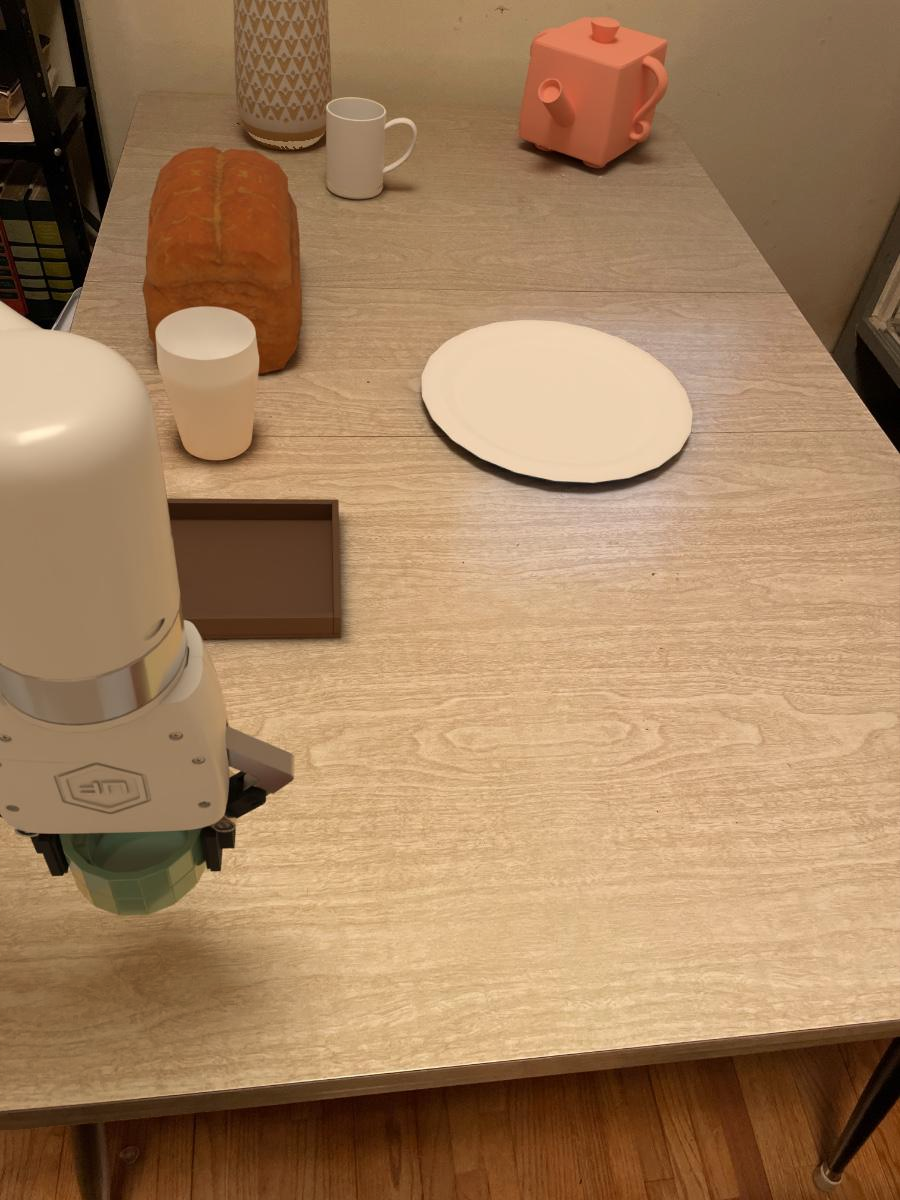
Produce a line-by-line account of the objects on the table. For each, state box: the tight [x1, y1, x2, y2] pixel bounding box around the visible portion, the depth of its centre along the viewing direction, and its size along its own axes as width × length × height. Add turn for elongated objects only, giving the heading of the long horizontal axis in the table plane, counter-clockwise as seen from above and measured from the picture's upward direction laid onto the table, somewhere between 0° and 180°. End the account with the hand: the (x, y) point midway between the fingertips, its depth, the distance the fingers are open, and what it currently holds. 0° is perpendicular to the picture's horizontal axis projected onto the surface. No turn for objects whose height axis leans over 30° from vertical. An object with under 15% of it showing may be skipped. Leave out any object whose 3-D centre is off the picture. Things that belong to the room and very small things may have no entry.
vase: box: [232, 0, 333, 151], centre depth 133 cm, size 14×14×31 cm
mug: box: [325, 96, 418, 200], centre depth 131 cm, size 12×8×10 cm, turn 88°
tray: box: [167, 497, 342, 640], centre depth 81 cm, size 17×14×2 cm
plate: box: [420, 319, 694, 485], centre depth 103 cm, size 29×29×2 cm
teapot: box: [518, 16, 669, 169], centre depth 143 cm, size 25×23×18 cm
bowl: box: [59, 828, 207, 917], centre depth 50 cm, size 7×7×4 cm
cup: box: [155, 306, 259, 461], centre depth 90 cm, size 9×9×12 cm
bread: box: [141, 146, 303, 374], centre depth 105 cm, size 16×27×16 cm, turn 8°
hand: (141, 847), depth 51 cm, fingers closed on bowl, 7 cm apart
